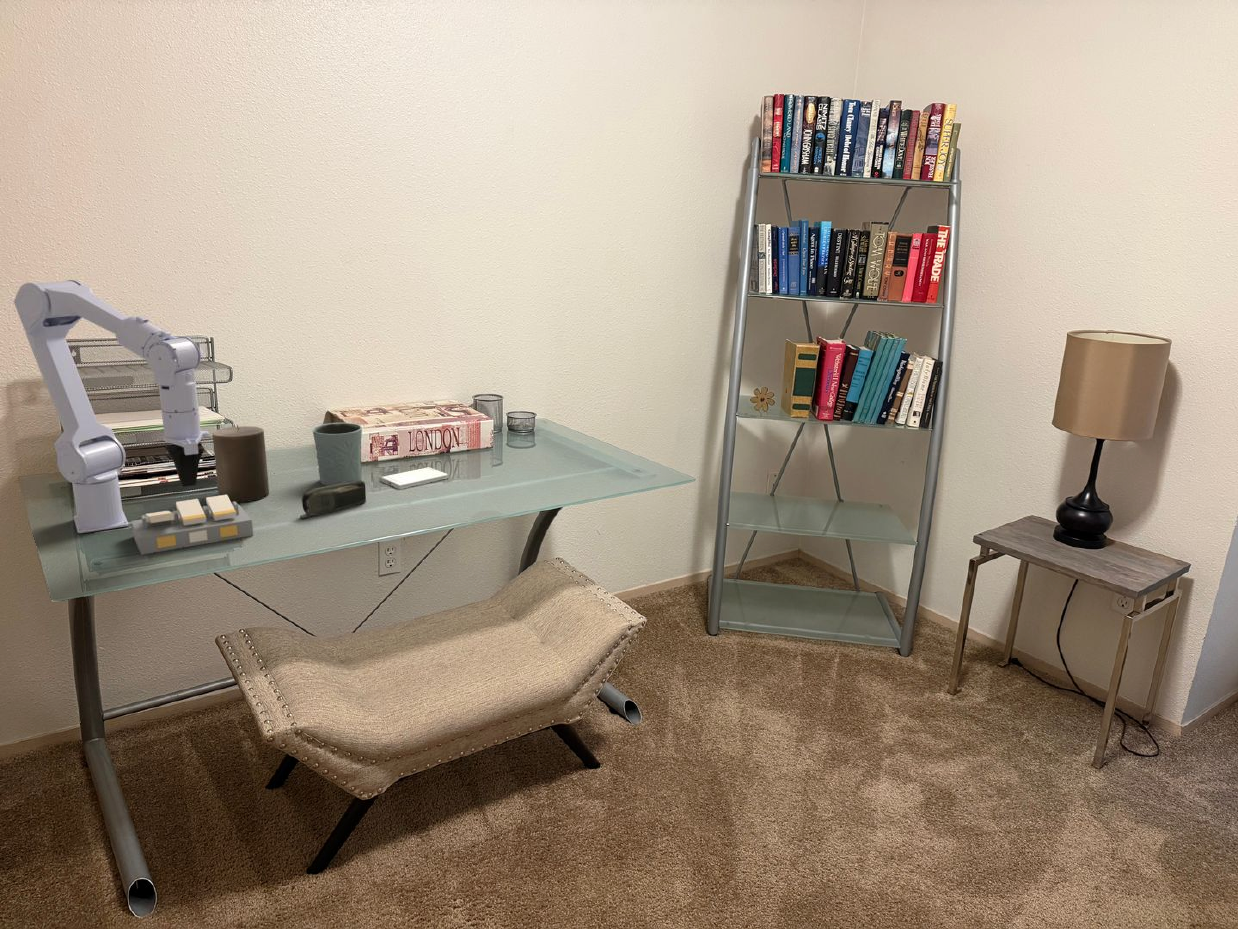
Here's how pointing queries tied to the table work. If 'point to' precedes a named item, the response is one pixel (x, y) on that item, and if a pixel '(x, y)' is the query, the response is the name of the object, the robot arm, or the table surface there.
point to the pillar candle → (241, 463)
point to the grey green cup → (338, 452)
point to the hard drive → (413, 478)
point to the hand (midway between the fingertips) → (188, 485)
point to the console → (189, 531)
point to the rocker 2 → (190, 512)
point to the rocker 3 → (221, 507)
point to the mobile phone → (333, 498)
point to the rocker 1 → (159, 516)
